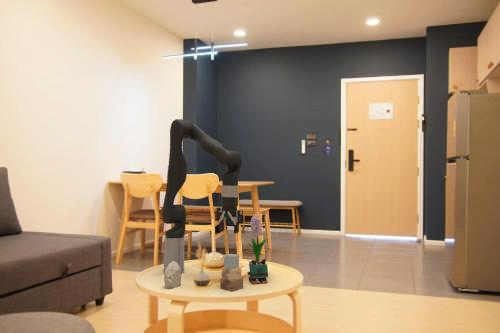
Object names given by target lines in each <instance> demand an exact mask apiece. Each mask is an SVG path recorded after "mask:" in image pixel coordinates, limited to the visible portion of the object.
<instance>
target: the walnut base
mask: <svg viewBox="0 0 500 333" xmlns="http://www.w3.org/2000/svg"><path fill="white" fill-rule="evenodd" d="M219 289H220V290H224V291H227V292H232V293H233V292H235V291H236V292H237V291H238V290H242V289H244V278H243V277H241V279H237V280H233V281H229V280H226V279H222V278H220V281H219Z"/></svg>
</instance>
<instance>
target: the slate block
mask: <svg viewBox="0 0 500 333" xmlns="http://www.w3.org/2000/svg"><path fill="white" fill-rule="evenodd" d="M239 259H240V255H239V254H236V253H235V254H234V253H228V254H224V255H223V267H224V268H227V269H236V268H240V260H239Z"/></svg>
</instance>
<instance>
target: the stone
mask: <svg viewBox="0 0 500 333" xmlns="http://www.w3.org/2000/svg"><path fill="white" fill-rule="evenodd" d="M163 279H164V281H163V282H164V289H166V288H167V289H166V290H170V289H174V287H175V288H178V287H179V286H181V284H182V273H181V271H180V267H179V264H178V263H177V262H175V261H172V262H171V263H170V264H169V265H168V267H167V268H166V269H165V272H164V278H163ZM169 288H170V289H169Z"/></svg>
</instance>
